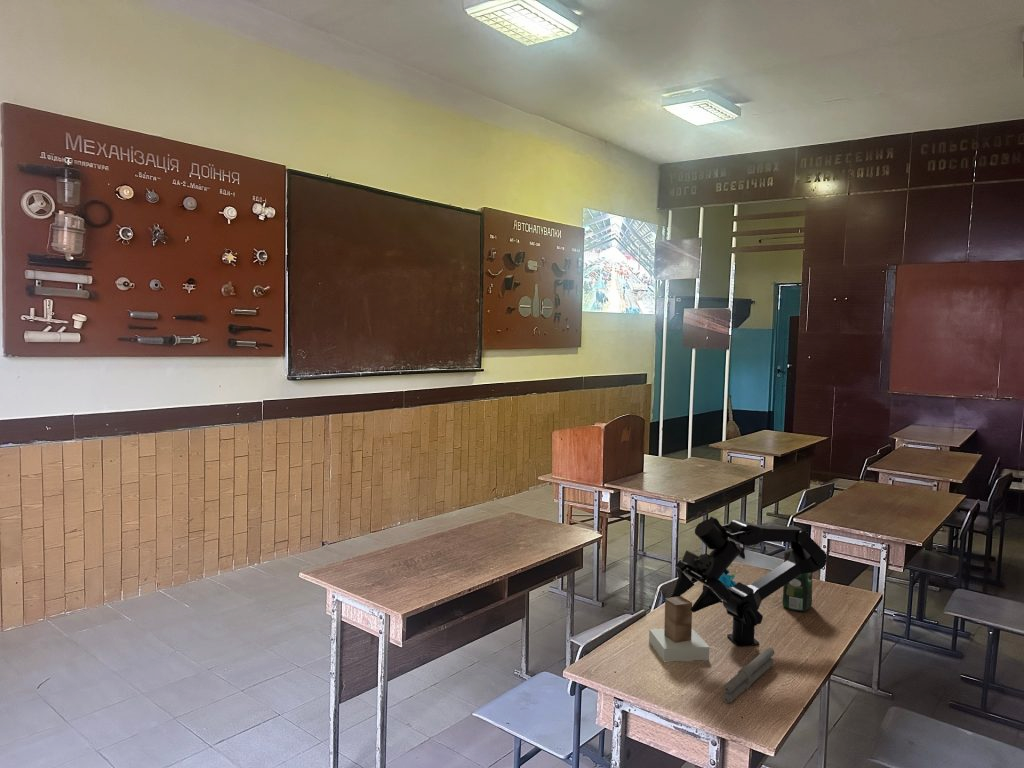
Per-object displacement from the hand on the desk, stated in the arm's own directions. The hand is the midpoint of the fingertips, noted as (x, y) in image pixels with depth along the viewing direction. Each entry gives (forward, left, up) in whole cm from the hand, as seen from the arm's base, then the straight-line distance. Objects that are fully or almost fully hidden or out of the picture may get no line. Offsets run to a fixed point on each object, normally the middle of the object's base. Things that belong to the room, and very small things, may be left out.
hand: (682, 604), depth 183 cm
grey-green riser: (0, +1, -13) cm, 13 cm away
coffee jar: (+26, -47, -13) cm, 55 cm away
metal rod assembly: (-19, -10, -13) cm, 25 cm away
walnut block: (0, +1, -9) cm, 9 cm away
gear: (+43, -31, -13) cm, 54 cm away
